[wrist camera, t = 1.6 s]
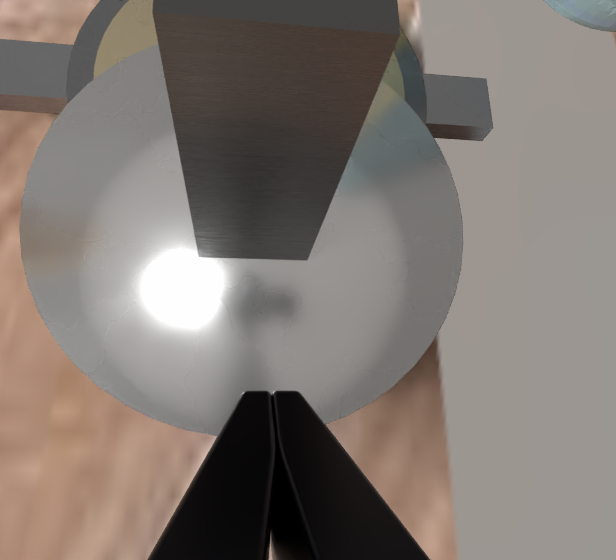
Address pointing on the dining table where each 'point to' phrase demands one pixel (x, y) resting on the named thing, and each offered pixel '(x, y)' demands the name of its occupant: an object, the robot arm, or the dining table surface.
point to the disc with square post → (244, 214)
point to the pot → (142, 34)
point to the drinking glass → (588, 12)
